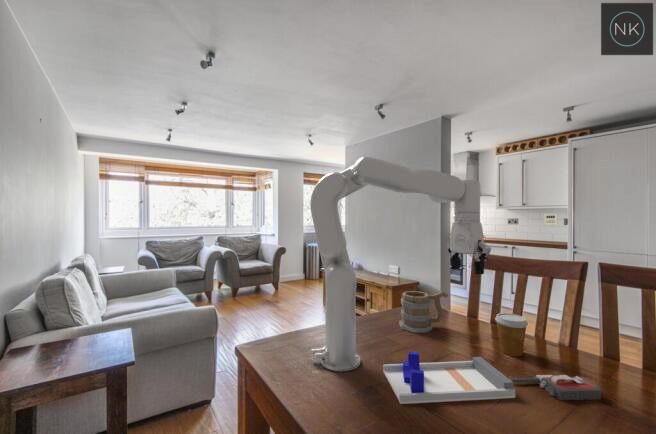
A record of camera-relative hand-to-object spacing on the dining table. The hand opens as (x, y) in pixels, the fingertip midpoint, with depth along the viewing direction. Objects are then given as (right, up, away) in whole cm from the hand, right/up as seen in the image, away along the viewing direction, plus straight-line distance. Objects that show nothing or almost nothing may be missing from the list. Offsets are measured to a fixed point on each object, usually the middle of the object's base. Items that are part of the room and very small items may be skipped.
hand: (466, 271), depth 95 cm
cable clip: (-22, -28, -14) cm, 38 cm away
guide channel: (-13, -29, -13) cm, 34 cm away
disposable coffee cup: (+18, -29, +6) cm, 34 cm away
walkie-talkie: (+16, -29, -17) cm, 37 cm away
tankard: (-4, -29, +29) cm, 41 cm away
